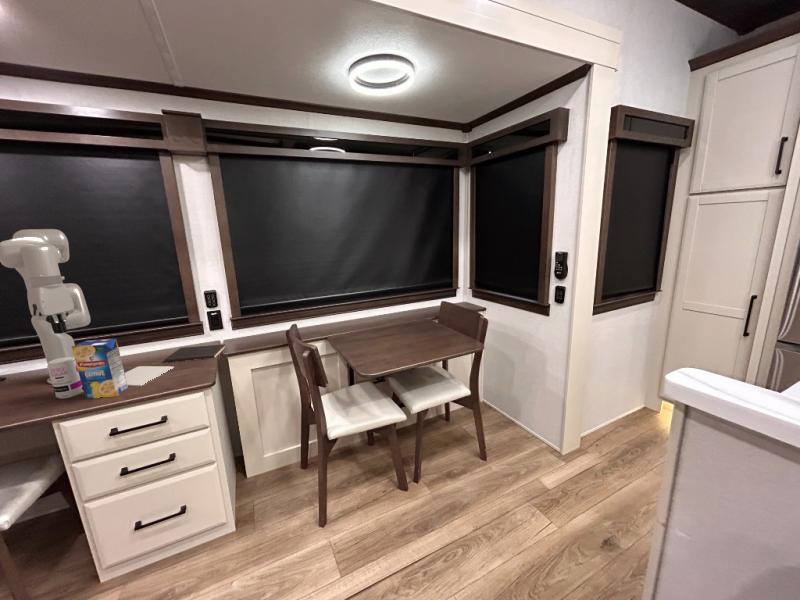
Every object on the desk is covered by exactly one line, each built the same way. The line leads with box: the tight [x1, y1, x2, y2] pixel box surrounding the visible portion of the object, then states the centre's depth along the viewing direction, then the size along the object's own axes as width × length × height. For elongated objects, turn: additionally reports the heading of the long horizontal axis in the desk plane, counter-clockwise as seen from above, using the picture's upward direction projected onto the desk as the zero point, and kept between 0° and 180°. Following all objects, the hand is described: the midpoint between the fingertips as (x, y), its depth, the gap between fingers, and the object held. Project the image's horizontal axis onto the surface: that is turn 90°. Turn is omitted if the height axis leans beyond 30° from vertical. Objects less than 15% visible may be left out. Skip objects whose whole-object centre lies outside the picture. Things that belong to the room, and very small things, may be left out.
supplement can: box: [46, 357, 84, 400], centre depth 125 cm, size 8×8×15 cm
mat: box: [125, 365, 175, 387], centre depth 142 cm, size 18×18×1 cm
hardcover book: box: [164, 343, 226, 363], centre depth 165 cm, size 16×23×2 cm
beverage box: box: [72, 338, 129, 400], centre depth 125 cm, size 7×11×22 cm, turn 100°
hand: (60, 332), depth 110 cm, fingers closed
